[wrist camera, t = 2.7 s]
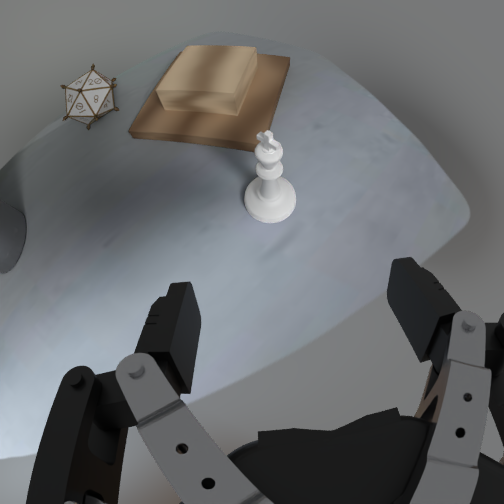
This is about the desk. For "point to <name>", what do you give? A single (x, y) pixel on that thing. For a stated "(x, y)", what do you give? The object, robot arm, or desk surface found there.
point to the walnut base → (218, 123)
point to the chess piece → (269, 184)
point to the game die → (89, 97)
